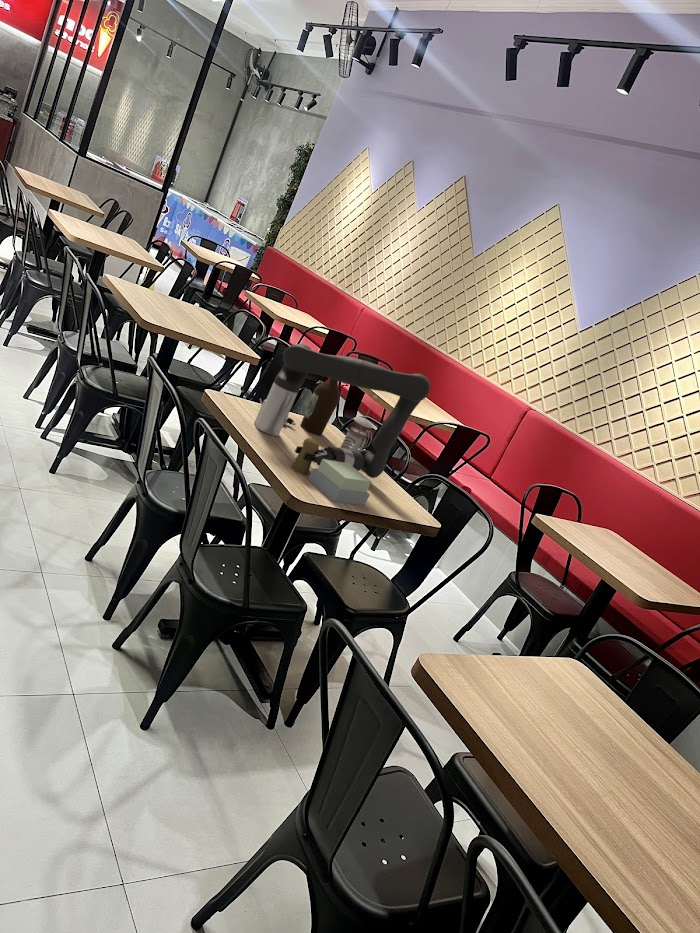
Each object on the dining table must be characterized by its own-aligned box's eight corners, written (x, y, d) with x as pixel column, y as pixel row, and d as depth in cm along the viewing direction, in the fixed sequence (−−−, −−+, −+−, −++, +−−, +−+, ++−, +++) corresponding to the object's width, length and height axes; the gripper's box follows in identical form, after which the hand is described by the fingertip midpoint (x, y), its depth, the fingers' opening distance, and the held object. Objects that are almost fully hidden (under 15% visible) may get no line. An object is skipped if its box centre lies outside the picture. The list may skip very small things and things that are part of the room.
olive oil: (320, 429, 284) (345, 374, 278) (325, 438, 275) (352, 381, 268) (296, 420, 280) (322, 364, 274) (301, 429, 271) (327, 371, 264)
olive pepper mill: (300, 466, 228) (314, 436, 225) (311, 475, 225) (325, 445, 222) (287, 464, 224) (300, 434, 221) (298, 474, 220) (312, 443, 217)
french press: (349, 449, 276) (376, 392, 269) (367, 463, 269) (395, 405, 262) (332, 446, 269) (359, 388, 262) (350, 460, 262) (379, 401, 255)
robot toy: (294, 432, 268) (282, 414, 279) (299, 422, 266) (287, 404, 278) (266, 424, 261) (255, 406, 272) (271, 413, 259) (260, 396, 271)
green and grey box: (307, 479, 220) (318, 457, 218) (338, 483, 230) (348, 462, 228) (334, 502, 211) (345, 479, 209) (364, 505, 221) (375, 483, 219)
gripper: (329, 439, 236) (292, 432, 224) (355, 459, 228) (318, 453, 215) (320, 458, 238) (283, 452, 226) (345, 479, 230) (308, 474, 217)
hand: (300, 452), depth 221 cm, fingers closed on olive pepper mill, 4 cm apart
